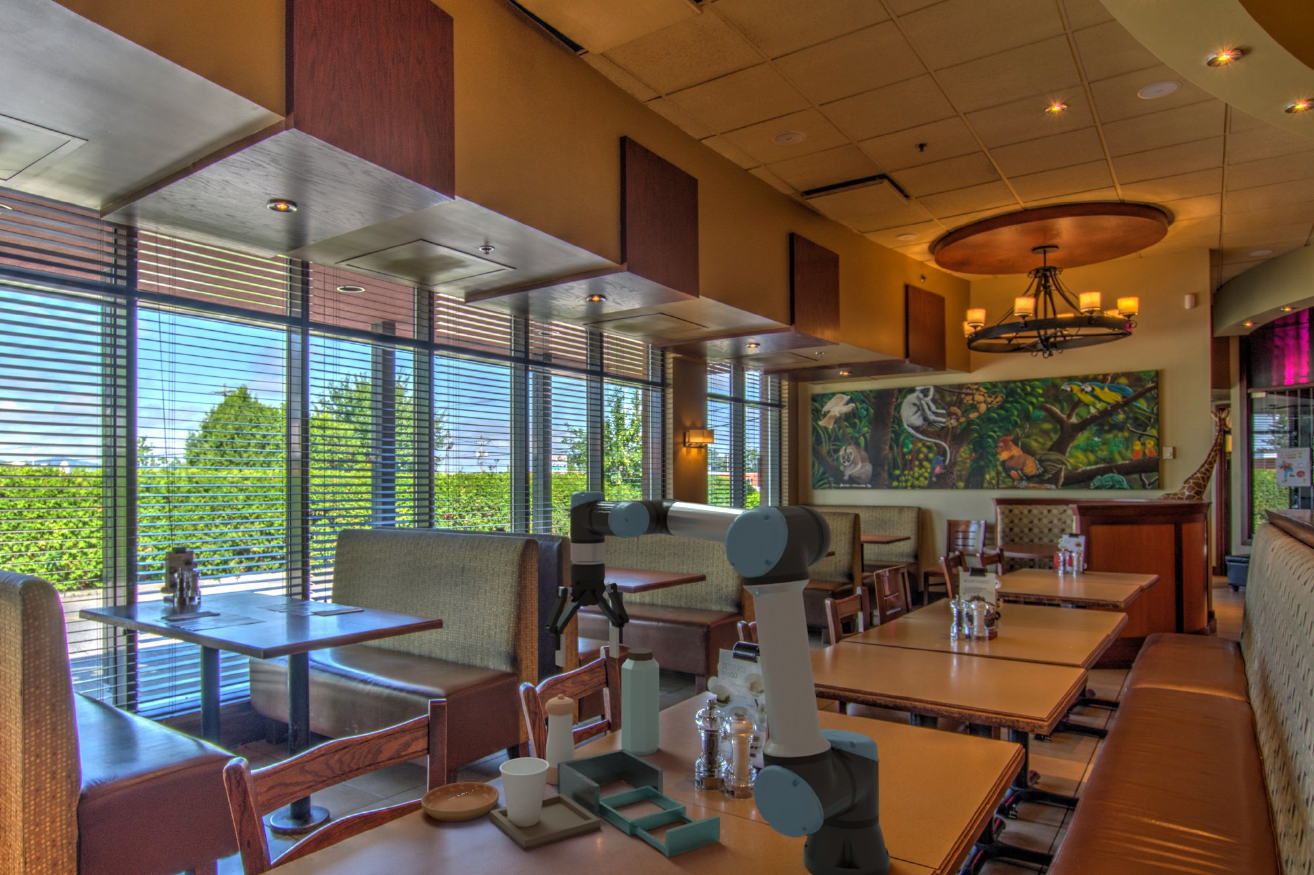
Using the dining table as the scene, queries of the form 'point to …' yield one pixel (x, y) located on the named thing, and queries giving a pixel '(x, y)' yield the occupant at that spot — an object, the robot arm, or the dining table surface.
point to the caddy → (661, 821)
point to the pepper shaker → (559, 735)
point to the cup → (524, 789)
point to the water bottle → (640, 702)
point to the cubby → (604, 776)
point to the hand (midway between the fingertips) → (587, 661)
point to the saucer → (460, 801)
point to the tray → (549, 822)
